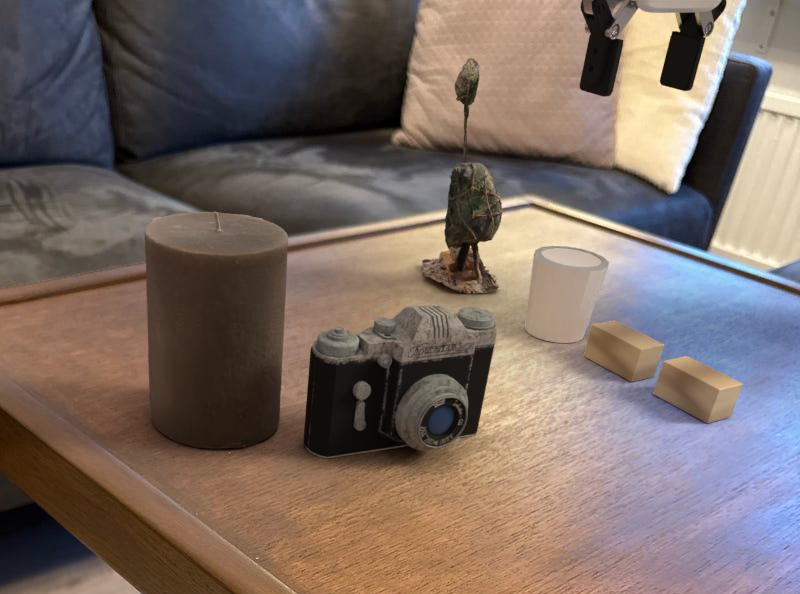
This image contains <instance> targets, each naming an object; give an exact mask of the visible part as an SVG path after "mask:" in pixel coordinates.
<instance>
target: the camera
mask: <svg viewBox="0 0 800 594" xmlns="http://www.w3.org/2000/svg"><path fill="white" fill-rule="evenodd" d="M498 330H499V326H498V323H497V322H496V320H495V314H494V313H492V312H491V311H489V310H487V309H484V308H481V307H474V306H471V307H470V306H469V307H463V308H460V309H459V310H458V312H457V313H454V312H452V311H450V310H449V309H447V308H446V307H445V308H444V307H443V306H441V305H439V304H432V305H431V304H429V305H417V306H406V307H405V308H403V309H402V310H400V312H398V313H397V314H395V316H394V317H393V318H389V317H377V318H376V319H375V320H374V323H373V324H372V325H370V326H368V327H367V328H366V329H364V330H362V331H361V332H358V333H353V332H350V331H349V330H347V329H345V328H344V327H343V326H335V327H334V328H330V329H327V330H323V331H321V332H319V333H318V334H317V338H316V340H314V341H313V342H312V345H311V347H310V351H309V365H308V376H307V389H306V403H305V404H306V405H305V414H304V429H303V438H302V439H303V440H302V443H303V446H304V447H305V449H306V450H307V451H308V452H309V453H310V454H312V455H315V456H317V457H319V458H323V459H334V458H340V457H345V456H352V455H359V454H365V453H370V452H371V453H372V452H380V451H385V450H390V449H397V448H404V447H409V448H411V449H414V450H417V451H422V452H423V451H424V452H425V451H432V450H436V449H441V448H444V447H447V446H449V445H450V444H452V443H453V442H455V441H456V440H457V439H461V438H466V437H472V436H476V435H477V433H478V430H479V424H480V420H481V415H482V410H483V405H484V400H485V394H486V390H487V385H488V380H489V375H490V370H491V364H492V360H493V356H494V349H495V345H496V340H497V335H498Z"/></svg>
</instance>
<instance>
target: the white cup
mask: <svg viewBox="0 0 800 594" xmlns="http://www.w3.org/2000/svg"><path fill="white" fill-rule="evenodd" d="M609 265H610V261H609V260H607V259H606V258H605V257H604V256H602V255H601V254H598V253H596V252H594V251H590V250H586V249H583V248H579V247H572V246H568V245H567V246H566V245H565V246H564V245H549V246H548V245H547V246H541V247H538V248H536V249H535V250H534V253H533V259H532V266H531V275H530V282H529V290H528V291H529V292H528V298H527V299H528V300H527V306H526V307H527V308H526V313H525V314H526V315H525V323H524V324H525V325H524V329H525V331H526V332H527V333H528V334H529V335H531V336H533V337H534V338H536V339H539V340H543V341H546V342H550V343H557V344H572V343H577V342H580V341H582V340H583V339H584V336H585V333H586V331H587V328H588V325H589V322H590V319H591V317H592V314H593V311H594V307H595V305H596V303H597V299H598V297H599V295H600V291H601V289H602V286H603V283H604V280H605V277H606V275H607V272H608V269H609Z"/></svg>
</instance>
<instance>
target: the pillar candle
mask: <svg viewBox="0 0 800 594" xmlns="http://www.w3.org/2000/svg"><path fill="white" fill-rule="evenodd" d="M288 248H289V236H288V233H287V232H286V230H285V229H284V228H282V227H280V226H279V225H278V224H275V223H274V222H272V221H271V222H270V221H268V220H265V219H264V218H262V217H254V216H252V215H247V214H240V213H239V214H238V213H234V214H233V213H228V212H226V213H225V212H217V211H215V210H214V211H196V212H182V213H180V212H179V213H173V214H170V215H164V216H158V217H154V218H152V219H151V220H150V222H148V224H147V225H146V226H145V228H144V254H145V255H144V256H145V276H146V277H145V279H146V282H145V283H146V284H145V285H146V314H147V315H146V317H147V319H146V320H147V347H148V349H147V362H148V392H149V404H150V405H149V408H150V411H149V413H150V420H151V421H152V424H153V426H154V427H155V429H157V430H158V431H159V432H160V433H162V434H163V435H164V436H166V437H167V438H168V439H171V440H173V441H174V442H177V443H179V444H183V445H186V446H190V447H194V448H197V449H198V448H201V449H213V450H214V449H215V450H220V449H230V448H232V449H233V448H234V449H238V448H246V447H252V446H254V445H256V444H258V443H260V442H262V441H264V440H266V439H268V438H269V437H271V436H272V435H273V434H275V433H276V431H277V429H278V427H279V425H280V414H281V396H282V395H281V394H282V393H281V392H282V375H283V358H284V357H283V356H284V334H285V317H286V315H285V314H286V297H287V296H286V295H287V293H286V292H287V276H288V251H289V249H288Z"/></svg>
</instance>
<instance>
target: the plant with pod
mask: <svg viewBox="0 0 800 594" xmlns="http://www.w3.org/2000/svg"><path fill="white" fill-rule="evenodd" d="M479 81H480V65H479V63H478V62H477V60H475V58H472V57H469V58H468V59H467V60H466V62H465V64H464V65H462V67H461V70H460V71H459V73H458V75H457V76H456V79H455V82H454V92H455V95H456V98H455V100H456V102H460V103H461V104H462V105H463V118H464V119H463V120H464V121H463V133H464V135H463V148H462V151H463V156H462V163H461V164H460V165H458V166H455V167H453V169H452V170H451V173H450V174H451V175H450V176H449V178H450V183H449V188H448V189H449V190H448V191H447V192H448V194H447V209H446V214H445V217H444V222H445V225H444V227H445V228H444V237H445V238H444V243H445V244H446V247H447V249H448V250H443V251H442V250H441V251H440V253H439V256H438V258H435V257H434V258H431V259H428V258H427V259H422V262H421V263H422V267H423V268H422V271H421V273H423V274H422V276H424V277H425V278H429V279H431V280H434V282H437V283H440V284H442V285H444V286H445V287H447V288H449V289H451V290H452V291H455V292H458V293H461V294H468V295H470V294H471V293H473V294H474V295H476V294H480V293H481V294H489V293H490V292H494V291H496V290H498V289H499V288H500V286H499V283H498V282H497V280H498V279H497V278H496V275H495V274H494V275H493V274H492V273H490V270H489V269H486V268H487V266H485V265H484V262H483V260H482V258H481V255H480V253H479V250H480V249H479V245H478V244H479V243H485V242H488V241H489V242H490V241H493V239H494V238H495V235H496V234H497V232H498V230H499V228H500V225H501V222H502V218H503V211H504V210H503V203H502V200H501V194H500V193H499V191H498V190H497V188H496V184H495V182H494V178H493V176H492V174H491V173H490V171H489V169H488V168H487V167H486V166H485V165H484V164H483V163H481V162H474V161H467V146H468V145H467V144H468V143H467V141H468V131H467V127H468V119H469V117H470V107H469V106H471V105H473V103H474V102H475V99H476V97H477V91H478V88H479ZM466 161H467V162H466Z"/></svg>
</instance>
